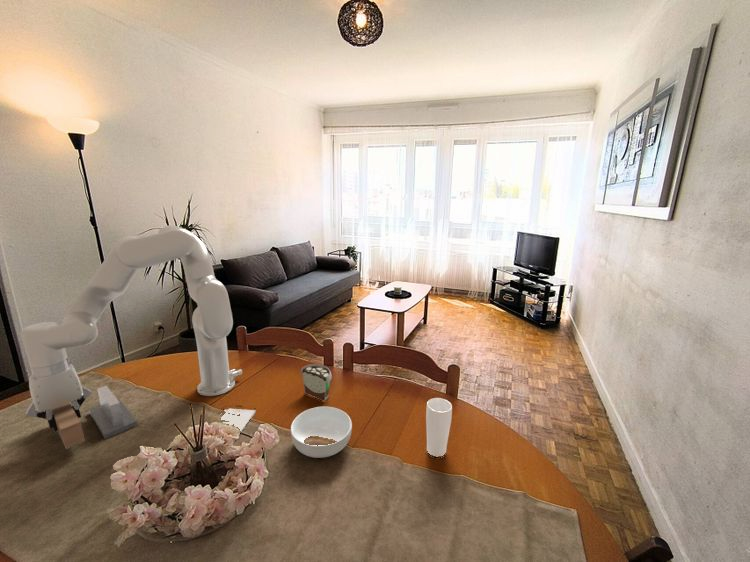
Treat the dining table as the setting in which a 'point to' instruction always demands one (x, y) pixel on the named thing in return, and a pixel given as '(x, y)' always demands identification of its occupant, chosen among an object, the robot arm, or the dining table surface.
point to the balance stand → (111, 414)
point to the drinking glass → (438, 425)
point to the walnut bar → (68, 425)
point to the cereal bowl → (321, 430)
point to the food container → (316, 380)
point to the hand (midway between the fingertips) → (66, 424)
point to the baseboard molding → (238, 417)
